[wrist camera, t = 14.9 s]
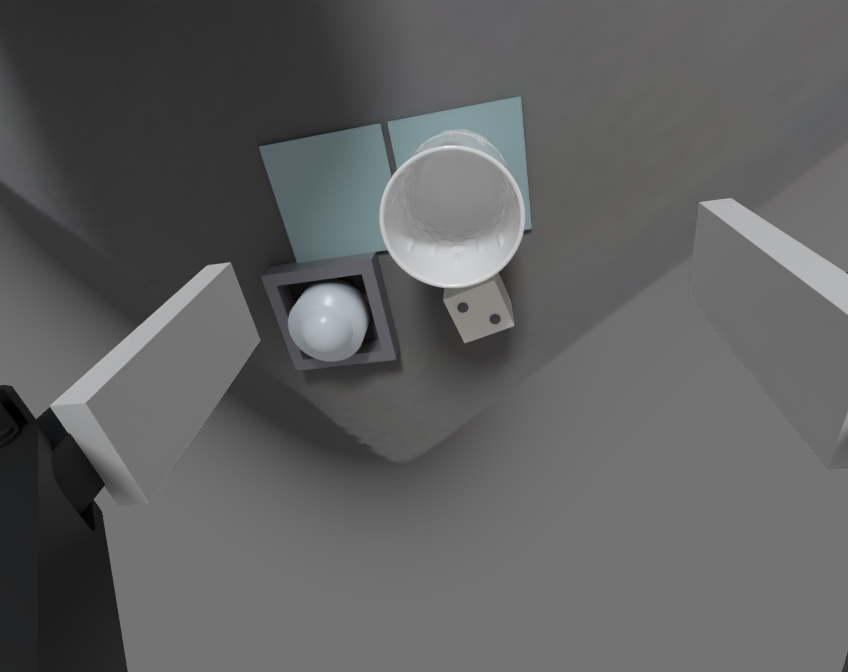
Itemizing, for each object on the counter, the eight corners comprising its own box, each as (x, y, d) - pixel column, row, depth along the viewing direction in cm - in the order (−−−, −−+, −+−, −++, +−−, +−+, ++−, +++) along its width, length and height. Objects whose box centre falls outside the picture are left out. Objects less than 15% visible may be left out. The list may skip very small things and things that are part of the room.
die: (445, 277, 40) (442, 300, 36) (492, 259, 39) (494, 280, 35) (465, 318, 42) (464, 344, 38) (511, 301, 41) (514, 326, 37)
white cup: (533, 145, 34) (552, 181, 26) (485, 247, 38) (487, 307, 30) (425, 99, 33) (407, 120, 25) (387, 208, 37) (361, 259, 29)
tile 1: (260, 146, 36) (258, 146, 36) (380, 122, 35) (380, 123, 34) (298, 261, 40) (297, 263, 40) (406, 245, 39) (406, 247, 39)
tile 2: (387, 121, 34) (387, 122, 34) (520, 96, 33) (520, 96, 33) (413, 245, 39) (412, 246, 39) (531, 227, 37) (531, 228, 37)
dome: (290, 283, 41) (269, 310, 37) (360, 273, 40) (347, 300, 36) (311, 345, 44) (294, 377, 40) (377, 338, 43) (367, 369, 39)
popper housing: (269, 266, 41) (260, 276, 39) (375, 250, 39) (371, 260, 38) (302, 358, 45) (295, 370, 44) (399, 347, 44) (396, 359, 42)
